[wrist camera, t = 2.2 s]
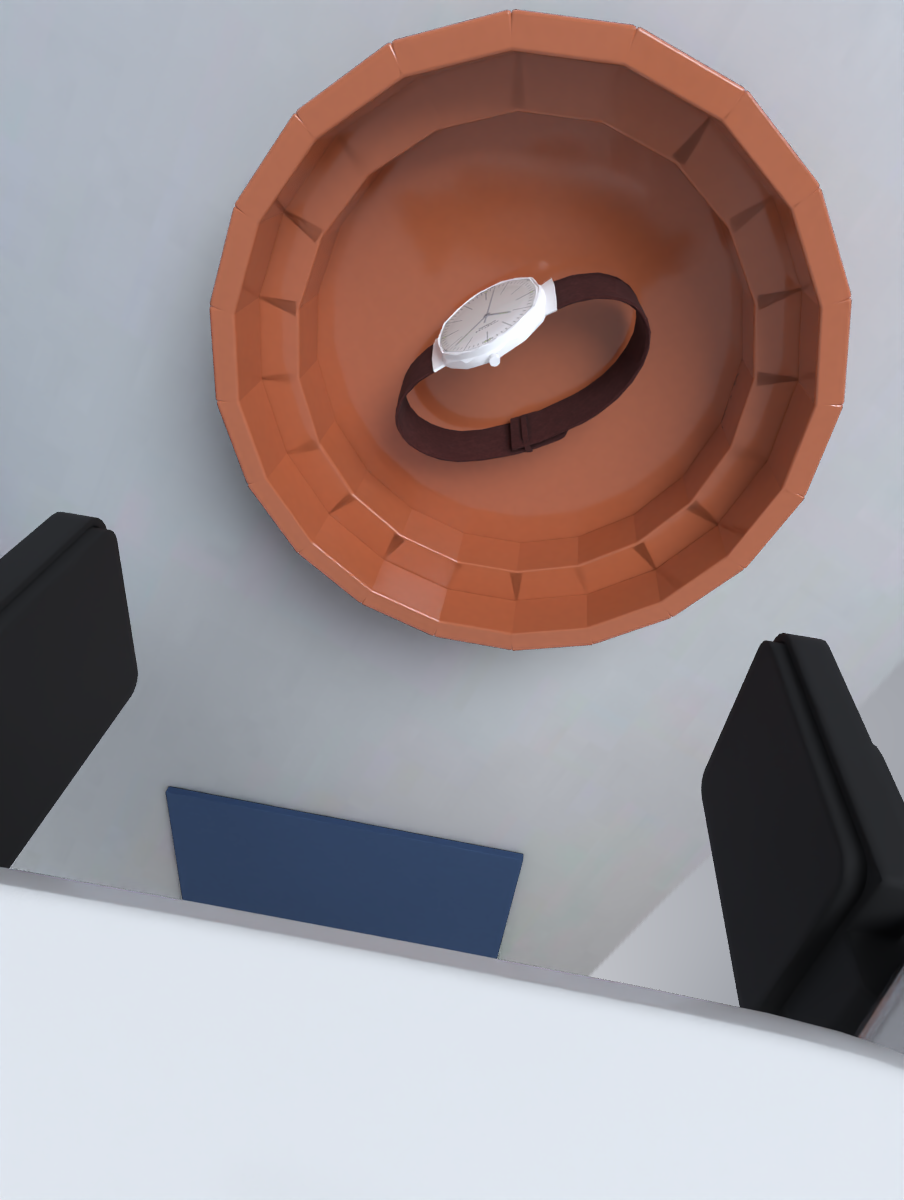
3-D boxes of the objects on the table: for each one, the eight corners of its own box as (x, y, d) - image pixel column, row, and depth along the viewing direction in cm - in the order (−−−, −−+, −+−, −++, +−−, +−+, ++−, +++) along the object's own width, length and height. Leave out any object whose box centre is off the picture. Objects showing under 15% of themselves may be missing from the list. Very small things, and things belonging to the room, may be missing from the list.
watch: (611, 218, 21) (615, 242, 18) (671, 372, 23) (684, 416, 20) (376, 345, 24) (347, 384, 21) (448, 471, 26) (431, 523, 23)
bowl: (908, 71, 19) (986, 71, 15) (706, 608, 28) (724, 689, 25) (258, -15, 20) (184, -35, 16) (273, 534, 29) (228, 601, 25)
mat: (523, 853, 38) (522, 860, 37) (484, 999, 46) (484, 1006, 45) (168, 785, 39) (165, 792, 38) (192, 940, 47) (189, 946, 46)
